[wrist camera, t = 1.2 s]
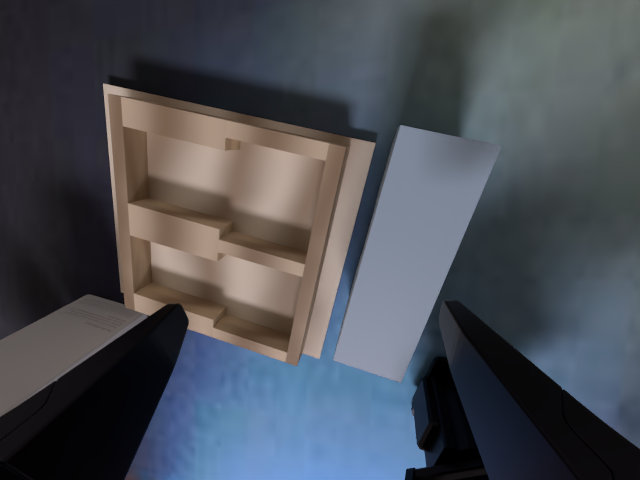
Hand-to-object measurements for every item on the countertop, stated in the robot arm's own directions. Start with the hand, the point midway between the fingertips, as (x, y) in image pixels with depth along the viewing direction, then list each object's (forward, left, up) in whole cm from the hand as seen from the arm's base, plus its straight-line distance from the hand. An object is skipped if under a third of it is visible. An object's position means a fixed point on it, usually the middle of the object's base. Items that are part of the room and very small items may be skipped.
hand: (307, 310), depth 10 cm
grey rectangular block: (-3, 0, -11) cm, 12 cm away
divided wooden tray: (+10, +3, -11) cm, 15 cm away
